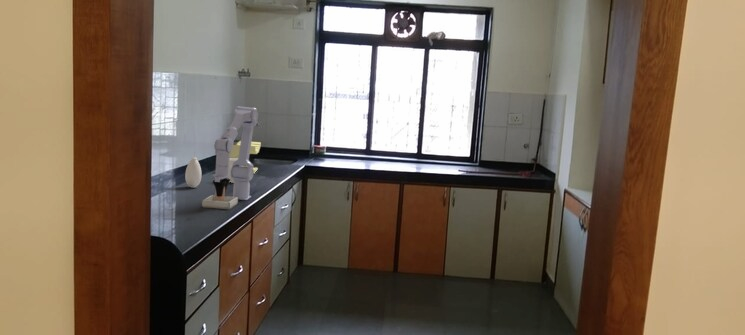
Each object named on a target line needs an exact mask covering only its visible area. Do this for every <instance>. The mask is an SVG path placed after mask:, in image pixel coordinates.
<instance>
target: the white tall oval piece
mask: <svg viewBox="0 0 745 335" xmlns="http://www.w3.org/2000/svg"><path fill="white" fill-rule="evenodd" d="M195 155H196V153H195V152H194V153H193V157H191V160H189V162H188V163H187V166H186V169H185V174H184V175H185V176H184V177H185V178H184V179H185V183H186V184H187V186H189V187H190V188H191V189H195V188H196V187H197V186H199V185H200V183H201V181H202V175H203V174H202V173H203V172H202V168H201V164H200V162H199V161H198V158H197V157H196V156H195Z"/></svg>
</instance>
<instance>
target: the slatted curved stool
mask: <svg viewBox="0 0 745 335" xmlns="http://www.w3.org/2000/svg"><path fill="white" fill-rule="evenodd" d="M240 144H241V140H239V141H238V142H236V144H233V148H232V150H231V152H230V158H238V157H239V151H240ZM261 145H262V143H261V142H260V141H252V142H251V148H250V155H258V153H260V149H261ZM243 167H247V166H243ZM258 169H259V168H258V167H254V166H253V171H254V174H256V173H257V172H258V171H259V170H258ZM257 170H258V171H257ZM256 171H257V172H256ZM255 172H256V173H255Z"/></svg>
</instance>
